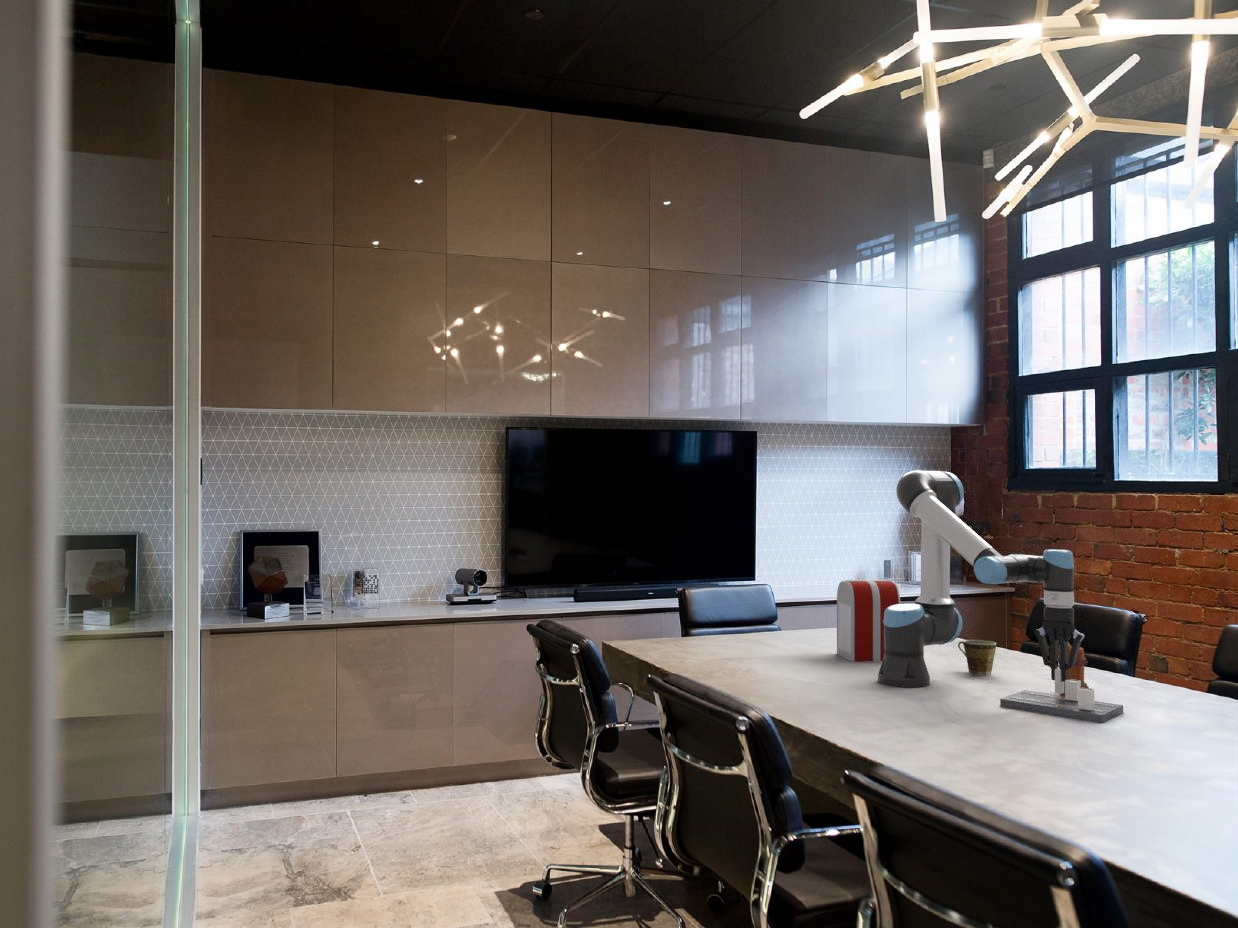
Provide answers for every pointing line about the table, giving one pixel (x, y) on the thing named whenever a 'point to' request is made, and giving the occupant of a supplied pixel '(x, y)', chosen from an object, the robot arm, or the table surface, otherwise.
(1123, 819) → the table surface
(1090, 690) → the fader near
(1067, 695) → the fader far
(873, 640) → the red striped block
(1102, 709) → the console
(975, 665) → the ceramic cup
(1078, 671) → the mug
